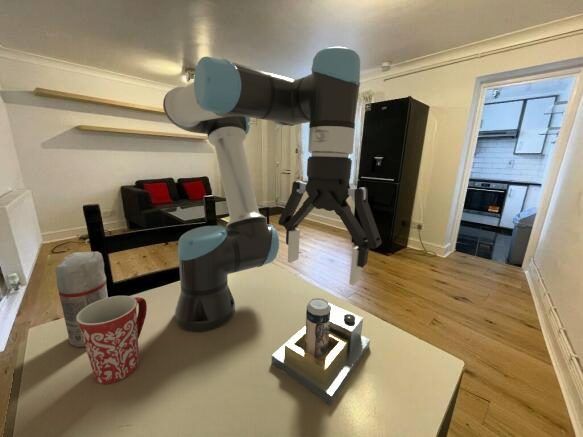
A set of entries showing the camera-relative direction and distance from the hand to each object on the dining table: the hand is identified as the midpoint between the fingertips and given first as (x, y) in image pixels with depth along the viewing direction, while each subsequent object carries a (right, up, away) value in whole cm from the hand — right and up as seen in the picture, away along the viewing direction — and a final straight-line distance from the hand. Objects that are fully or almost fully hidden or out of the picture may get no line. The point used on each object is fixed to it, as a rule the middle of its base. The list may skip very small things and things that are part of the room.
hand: (321, 270), depth 47 cm
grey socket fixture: (+1, -20, +7) cm, 21 cm away
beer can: (-1, -19, +4) cm, 19 cm away
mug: (-40, -20, +3) cm, 44 cm away
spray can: (-52, -17, +10) cm, 56 cm away
